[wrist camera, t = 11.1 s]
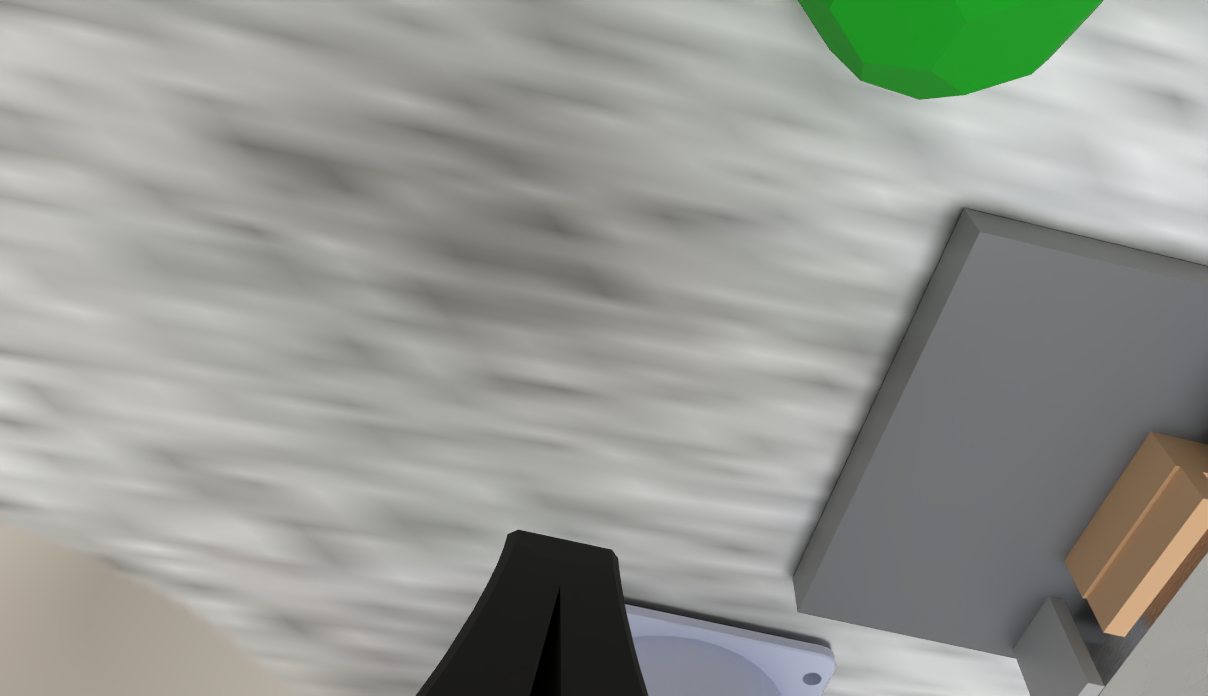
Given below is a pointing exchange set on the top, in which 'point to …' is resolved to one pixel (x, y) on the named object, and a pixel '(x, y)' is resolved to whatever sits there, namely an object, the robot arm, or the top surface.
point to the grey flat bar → (1164, 639)
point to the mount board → (1026, 454)
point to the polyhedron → (945, 40)
